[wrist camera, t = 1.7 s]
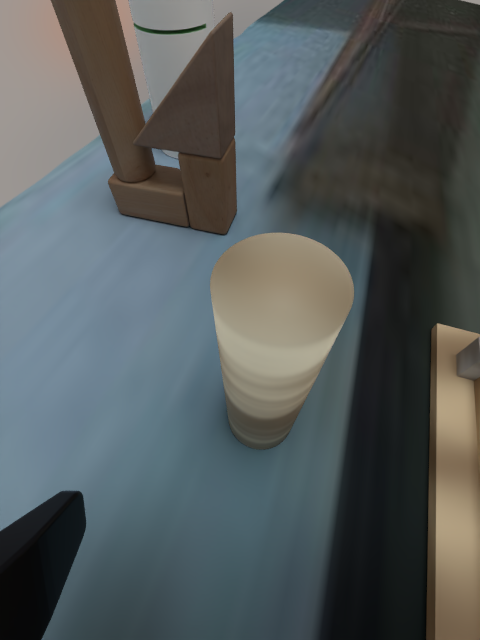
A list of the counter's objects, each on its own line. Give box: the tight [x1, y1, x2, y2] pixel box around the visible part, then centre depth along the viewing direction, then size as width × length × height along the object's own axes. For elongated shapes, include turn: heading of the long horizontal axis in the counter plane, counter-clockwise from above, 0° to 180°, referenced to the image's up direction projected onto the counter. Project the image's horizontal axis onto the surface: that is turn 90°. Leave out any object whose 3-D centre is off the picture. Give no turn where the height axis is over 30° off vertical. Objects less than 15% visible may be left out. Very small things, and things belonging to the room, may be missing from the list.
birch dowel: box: [210, 233, 354, 449], centre depth 14 cm, size 4×4×13 cm
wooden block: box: [51, 0, 237, 234], centre depth 23 cm, size 4×11×18 cm, turn 73°
